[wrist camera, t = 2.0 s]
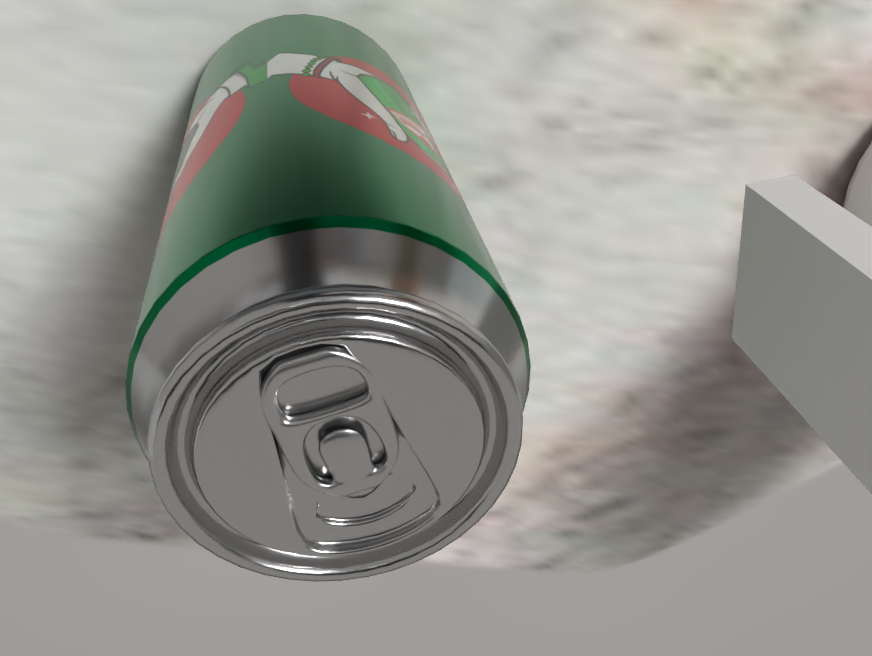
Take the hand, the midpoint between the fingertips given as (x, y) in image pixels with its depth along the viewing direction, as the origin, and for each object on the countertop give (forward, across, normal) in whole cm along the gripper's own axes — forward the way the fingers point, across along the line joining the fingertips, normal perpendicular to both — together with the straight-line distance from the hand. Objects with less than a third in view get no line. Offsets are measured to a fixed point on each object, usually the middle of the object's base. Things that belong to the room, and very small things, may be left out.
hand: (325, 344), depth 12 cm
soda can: (+9, 0, +1) cm, 9 cm away
